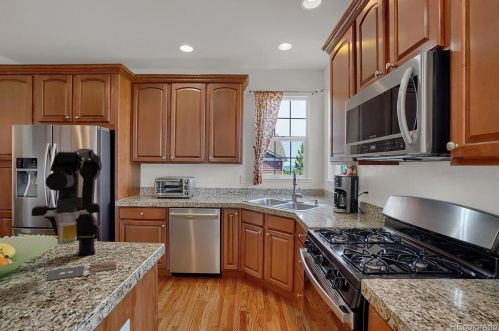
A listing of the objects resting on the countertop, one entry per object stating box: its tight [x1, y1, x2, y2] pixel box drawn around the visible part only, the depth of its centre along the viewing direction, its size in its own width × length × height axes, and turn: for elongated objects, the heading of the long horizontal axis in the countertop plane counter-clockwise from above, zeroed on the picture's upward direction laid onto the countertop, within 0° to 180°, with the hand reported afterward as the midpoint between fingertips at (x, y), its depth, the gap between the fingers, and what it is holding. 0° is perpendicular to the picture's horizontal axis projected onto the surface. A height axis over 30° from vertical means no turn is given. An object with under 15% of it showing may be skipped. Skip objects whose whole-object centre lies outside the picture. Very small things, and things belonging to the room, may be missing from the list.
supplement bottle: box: [57, 213, 78, 246], centre depth 92 cm, size 5×5×10 cm
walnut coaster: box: [89, 261, 117, 273], centre depth 98 cm, size 8×8×1 cm
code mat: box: [45, 265, 85, 282], centre depth 91 cm, size 10×10×1 cm
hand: (67, 234), depth 92 cm, fingers closed on supplement bottle, 5 cm apart
